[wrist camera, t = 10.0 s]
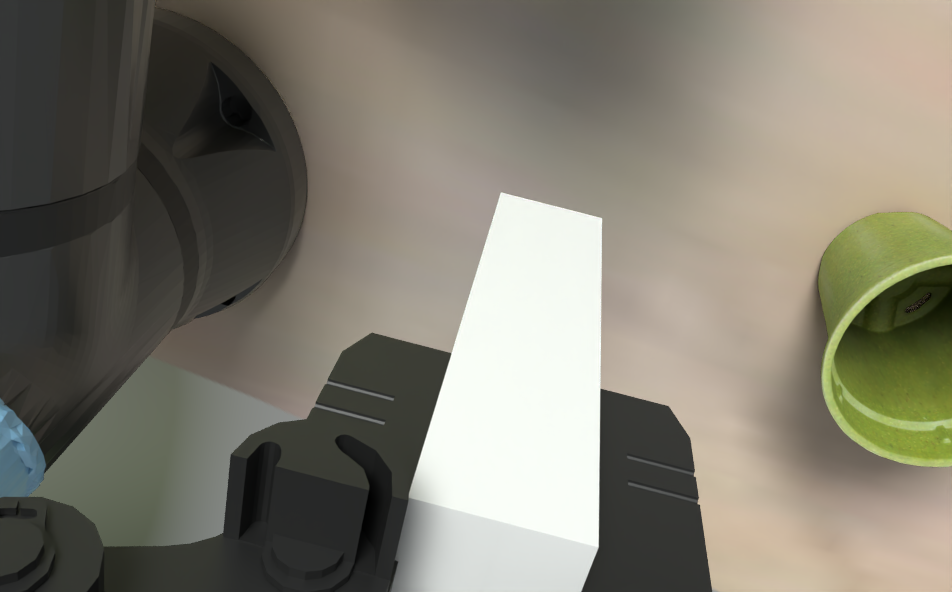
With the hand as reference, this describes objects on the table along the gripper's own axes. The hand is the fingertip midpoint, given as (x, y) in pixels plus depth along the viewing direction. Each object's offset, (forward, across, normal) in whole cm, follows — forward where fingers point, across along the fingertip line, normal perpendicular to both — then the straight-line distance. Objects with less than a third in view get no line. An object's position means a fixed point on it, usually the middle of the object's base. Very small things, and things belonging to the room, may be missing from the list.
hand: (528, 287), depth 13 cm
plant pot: (+27, -17, +8) cm, 33 cm away
